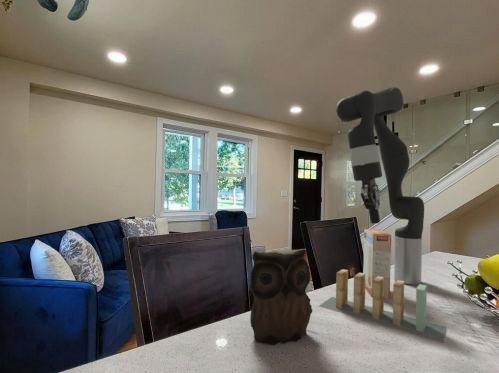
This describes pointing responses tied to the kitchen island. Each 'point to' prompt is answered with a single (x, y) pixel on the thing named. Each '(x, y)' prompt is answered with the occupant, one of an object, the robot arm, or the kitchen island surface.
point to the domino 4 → (398, 302)
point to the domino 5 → (421, 307)
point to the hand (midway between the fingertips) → (375, 222)
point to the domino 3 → (378, 297)
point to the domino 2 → (359, 293)
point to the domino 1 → (341, 288)
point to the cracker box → (377, 259)
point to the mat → (390, 320)
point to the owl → (280, 296)
